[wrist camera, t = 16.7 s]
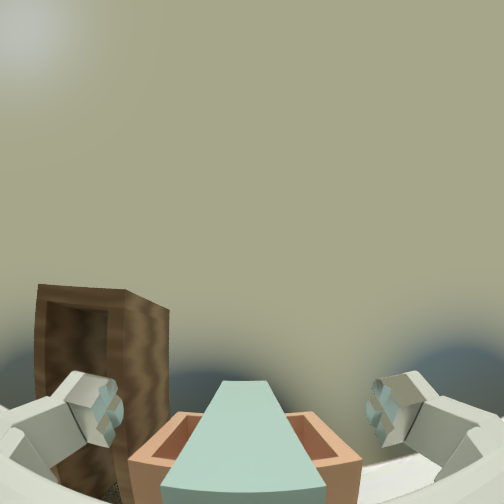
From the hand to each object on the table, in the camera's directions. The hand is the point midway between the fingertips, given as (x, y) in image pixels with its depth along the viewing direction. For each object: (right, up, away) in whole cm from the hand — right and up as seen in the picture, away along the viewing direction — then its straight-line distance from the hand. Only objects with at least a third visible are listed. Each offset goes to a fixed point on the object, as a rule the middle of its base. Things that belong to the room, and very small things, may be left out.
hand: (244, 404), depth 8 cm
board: (0, -8, +8) cm, 11 cm away
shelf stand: (-15, -25, +12) cm, 32 cm away
